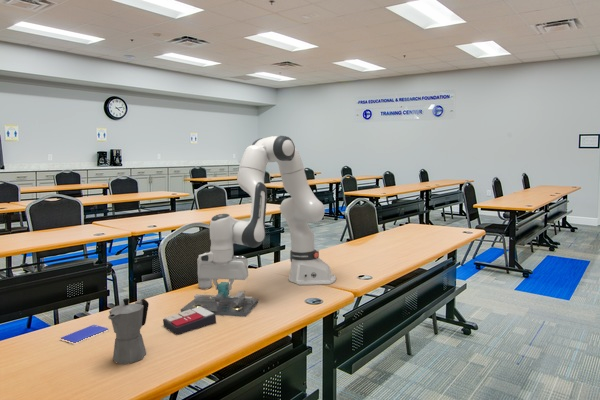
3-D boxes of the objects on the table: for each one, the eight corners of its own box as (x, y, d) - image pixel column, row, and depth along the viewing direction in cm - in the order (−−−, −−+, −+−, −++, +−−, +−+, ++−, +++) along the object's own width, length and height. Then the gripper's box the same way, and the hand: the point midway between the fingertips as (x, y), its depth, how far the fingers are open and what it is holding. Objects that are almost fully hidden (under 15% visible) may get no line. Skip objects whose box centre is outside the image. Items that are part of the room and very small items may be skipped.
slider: (229, 298, 173) (229, 282, 173) (221, 306, 164) (220, 289, 164) (222, 298, 174) (221, 281, 173) (213, 306, 165) (212, 288, 164)
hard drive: (93, 324, 152) (59, 337, 141) (108, 328, 148) (74, 342, 138) (93, 328, 152) (59, 342, 142) (108, 332, 148) (74, 346, 138)
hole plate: (258, 302, 174) (258, 287, 174) (246, 316, 159) (245, 301, 158) (198, 299, 179) (197, 285, 179) (180, 313, 164) (179, 298, 163)
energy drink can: (213, 285, 198) (212, 253, 197) (209, 289, 192) (208, 256, 191) (201, 285, 199) (199, 253, 197) (196, 289, 193) (195, 256, 191)
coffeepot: (125, 370, 120) (121, 307, 119) (100, 364, 124) (95, 304, 122) (162, 347, 135) (159, 291, 133) (138, 343, 138) (135, 288, 136)
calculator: (162, 317, 151) (200, 304, 161) (163, 328, 152) (201, 315, 162) (176, 325, 143) (215, 312, 153) (177, 338, 144) (216, 323, 153)
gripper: (249, 254, 171) (251, 288, 172) (201, 253, 175) (203, 286, 176) (244, 257, 165) (246, 293, 166) (194, 256, 169) (196, 291, 170)
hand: (223, 289), depth 171 cm, fingers closed on slider, 3 cm apart
